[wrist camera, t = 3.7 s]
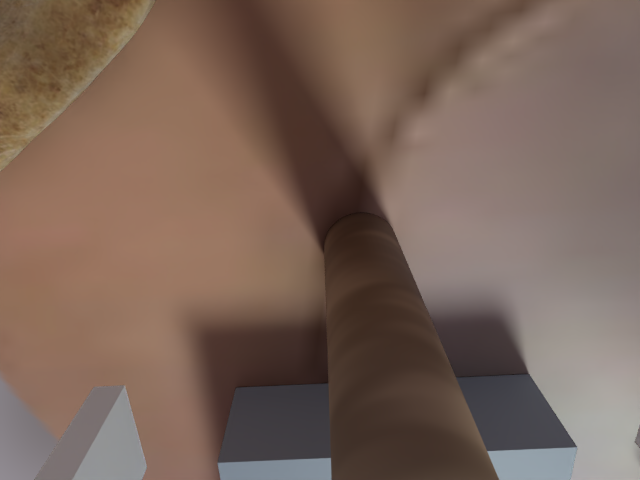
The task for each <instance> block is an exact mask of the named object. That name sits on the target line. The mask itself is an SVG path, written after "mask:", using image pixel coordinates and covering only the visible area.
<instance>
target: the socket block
mask: <svg viewBox="0 0 640 480" xmlns="http://www.w3.org/2000/svg"><path fill="white" fill-rule="evenodd" d="M456 379H457V381H458V384H459V386H460V388H461V391H462V393H463V395H464V398H465V400H466V403H467V405H468V407H469V410H470V412H471V414H472V417H473V419H474V421H475V424H476V426H477V428H478V431H479V433H480V435H481V438H482V440H483V443H484V445H485V447H486V450H487V452H488V454H489V457H490V459H491V461H492V464H493V466H494V468H495V471H496V473H497V476H498V478H499V480H571V475H572V470H573V465H574V460H575V456H576V451H577V446H576V445H575V443H574V442H573V440H572V439H571V437H570V436H569V434H568V432H567V431H566V429H565V428H564V426H563V425H562V423H561V422H560V420H559V419H558V417H557V416H556V414H555V413H554V411H553V410H552V408H551V407H550V405H549V404H548V402H547V400H546V399H545V397H544V396H543V394H542V393H541V391H540V390H539V388H538V387H537V385H536V384H535V382H534V381H533V379H532V378H531V376H530V375H529V374H522V375H500V376H478V377H456ZM218 468H219V474H220V479H221V480H332V479H331V448H330V416H329V385H328V383H326V384H304V385H282V386H261V387H239V388H236V389H235V394H234V398H233V402H232V406H231V410H230V414H229V418H228V422H227V426H226V430H225V434H224V438H223V443H222V447H221V451H220V455H219V459H218Z"/></svg>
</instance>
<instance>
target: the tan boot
mask: <svg viewBox="0 0 640 480" xmlns="http://www.w3.org/2000/svg"><path fill="white" fill-rule="evenodd" d="M155 1H156V0H0V171H2V170H3V169H4V168H5V167H6V166H7V165H8V164H9V163H10V162H11V161H12V160H13V159H14V158H15V157H16V156H17V155H18V154H19V153H20V152H21V151H22V150H23V149H24V148H25V147H26V146H27V145H28V144H29V143H30V142H31V141H32V140H33V139H34V138H35V137H36V136H37V135H39V134H40V133H41V132H42V131H43V130H44V129H45V128H46V127H47V126H49V125H50V124H51V123H52V122H53V121H54V120H55V119H56V118H57V117H58V116H59V115H60V114H61V113H62V112H63V111H64V110H65V109H67V108H68V107H69V106H70V105H71V104H72V103H73V102H74V101H75V100H76V99H77V98H78V97H79V96H80V95H81V94H82V93H83V92H84V91H85V90H86V89H87V87H88V86H89V85H90V84H91V83H92V82H93V81H94V80H95V78H96V77H97V76H98V75H99V74H100V73H101V72H102V71H103V70H104V69H105V67H106V66H107V65H108V64H109V63H110V62H111V61H112V60H113V59H114V58H115V57H116V55H117V54H118V53H119V52H120V51H121V50H122V49H123V47H124V46H125V45H126V44H127V43H128V42H129V41H130V39H131V38H132V37H133V35H134V34H135V33H136V31H137V30H138V29H139V27H140V26H141V25H142V23H143V21H144V20H145V18H146V16H147V15H148V13H149V11H150V10H151V8H152V7H153V5H154V3H155Z"/></svg>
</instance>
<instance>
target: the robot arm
mask: <svg viewBox="0 0 640 480" xmlns="http://www.w3.org/2000/svg"><path fill="white" fill-rule="evenodd" d="M635 443H636V444H637V445H638V446H639V448H640V426H639V429H638V433H637V437H636V440H635ZM146 468H147V465H146V461H145V458H144V454H143V450H142V447H141V443H140V439H139V436H138V432H137V428H136V425H135V421H134V417H133V414H132V410H131V406H130V403H129V399H128V395H127V391H126V388H125V385H121V386H102V387H94V388H93V389H92V391H91V392H90V394H89V395H88V397H87V399H86V400H85V402H84V403H83V405H82V406H81V408H80V409H79V411H78V412H77V414H76V416H75V417H74V419H73V420H72V422H71V423H70V425H69V426H68V428H67V430H66V431H65V433H64V434H63V436H62V437H61V439H60V440H59V442H58V443H57V445H56V447H55V448H54V450H53V451H52V453H51V455H50V456H49V457H48V459H47V461H46V462H45V464H44V465H43V467H42V468H41V470H40V471H39V473H38V474H37V476H36V478H35V479H34V480H142V478H143V476H144V473H145V471H146Z"/></svg>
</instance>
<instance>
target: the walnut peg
mask: <svg viewBox="0 0 640 480" xmlns="http://www.w3.org/2000/svg"><path fill="white" fill-rule="evenodd" d="M324 259H325V290H326V322H327V353H328V385H329V416H330V448H331V479H332V480H499V478H498V476H497V473H496V471H495V468H494V466H493V464H492V461H491V459H490V457H489V454H488V452H487V450H486V447H485V445H484V443H483V440H482V438H481V435H480V433H479V431H478V428H477V426H476V424H475V421H474V419H473V417H472V414H471V412H470V410H469V407H468V405H467V403H466V400H465V398H464V395H463V393H462V391H461V388H460V386H459V384H458V381H457V379H456V377H455V374H454V372H453V370H452V367H451V365H450V362H449V360H448V358H447V355H446V353H445V351H444V348H443V346H442V344H441V341H440V339H439V337H438V334H437V332H436V330H435V327H434V325H433V322H432V320H431V318H430V315H429V313H428V311H427V308H426V306H425V304H424V301H423V299H422V297H421V294H420V292H419V289H418V287H417V285H416V282H415V280H414V278H413V275H412V273H411V271H410V268H409V266H408V264H407V261H406V259H405V257H404V254H403V252H402V249H401V247H400V245H399V242H398V240H397V238H396V235H395V233H394V231H393V229H392V228H391V226H390V225H389V224H388V223H387V222H386V221H385V220H384V219H382V218H380V217H379V216H376V215H374V214H370V213H354V214H350V215H347V216H345V217H343V218H341V219H340V220H338V221H337V222H336V223H335V224H334V225H333V226H332V227H331V228H330V230H329V231H328V233H327V235H326V238H325V243H324Z"/></svg>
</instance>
